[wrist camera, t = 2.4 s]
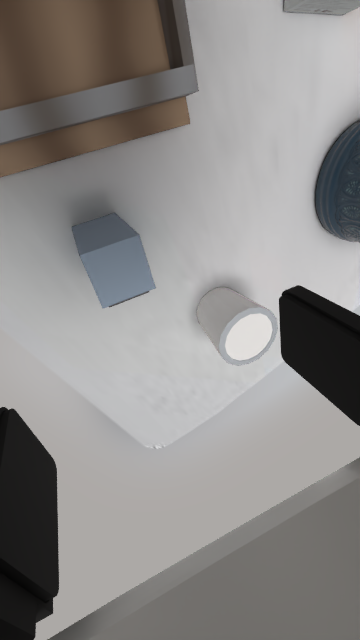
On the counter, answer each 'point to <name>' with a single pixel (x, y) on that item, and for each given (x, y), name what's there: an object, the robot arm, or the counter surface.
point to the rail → (89, 76)
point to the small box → (321, 6)
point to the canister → (341, 187)
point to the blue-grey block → (113, 259)
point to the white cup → (236, 325)
